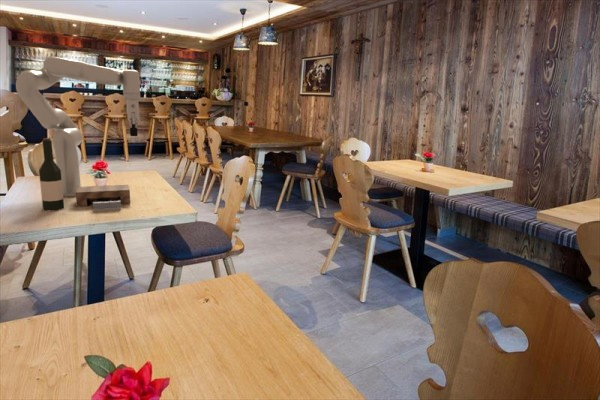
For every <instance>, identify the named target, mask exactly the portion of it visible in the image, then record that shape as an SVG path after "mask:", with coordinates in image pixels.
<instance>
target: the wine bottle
mask: <svg viewBox="0 0 600 400" xmlns="http://www.w3.org/2000/svg"><path fill="white" fill-rule="evenodd" d="M42 149H43V158H44V160H43V162H42V164H41V166H40V168H39V170H38V175H39V183H40V193H41V203H42V209H44V210H43V211H47V210H54V211H60V210H63V209H65V203H64V197H63V190H62V179H61V170H60V169H59V167H58V166H57V163H56V161H54V153H53V151H54V150H53V140H51V138H48V137H45V138H44V137H43V140H42ZM59 209H60V210H59Z"/></svg>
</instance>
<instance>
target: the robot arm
mask: <svg viewBox="0 0 600 400" xmlns="http://www.w3.org/2000/svg"><path fill="white" fill-rule="evenodd" d="M42 64H43V67H41V68H40V69H39V70H32V69H31V70H30V69H28V70H24V71H22V72H21V73H19V74H18V76H17V78H16V81H15V91H16V92H17V94H18V96H19V98H20V100H22V101H23V103H24V104H25V106H26V107H27V108H28V109H29V110H30V112H31V113H32V115H33V116H34V117H35V118H36V119H37V121H38V123H40V125H41V126H42V127H43V128H44V129H46V130H52V131H53V130H54V131H55V132H54V134H53V137H52V147H53V149H54V150H53V151H54V154H55V163H56V165H57V166H58V167H59V169H60V170H61V179H62V190H63V198H70V197H76V189H77V187H82V186H81V174H80V160H79V154H78V150H77V147H78V146H80V144H81V143H82V142H83V134H82V131H81V130H80V129H79V128H78V126H77V125H76V123H74V121H73V120H72V118H71V117H70V116H69V115H68V113H66V112H65V111H64V110H63V109H60V108H54V107H53V105H51V103H49V101H48V99H47V98H46V97H45V96H44V95H43V94H42V93H40V91H41V90H42V91H43V90H47V89H49V88H50V87H52V86H53V85H55V84H56V83H58V82H59V81H61V80H62V79H63V78H64V79H65V78H66V79H68V80H69V79H71V80H75V81H76V80H77V81H80V82H90V83H95V84H102V85H107V86H117V87H118V86H122V93H123V95H122V97H123V100H124V101H125V102H126V104H125V105H126V114H127V115H126V116H127V121H129V126H130V127H129V136H130V137H138V125H137V122H139V123H140V121H141V120H140V105H139V104H140V103H139V101H141V87H140V86H141V85H140V83H141V82H140V72H139V71H138V70H135V69H124V70H122V69H117V68H112V67H107V66H106V67H105V66H101V65H100V66H99V65H95V64H90V63H87V62H84V61H79V60H74V59H68V58H64V57H58V56H48V57H46V58H45V59H44V61H43V63H42Z"/></svg>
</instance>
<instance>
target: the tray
mask: <svg viewBox="0 0 600 400" xmlns="http://www.w3.org/2000/svg"><path fill="white" fill-rule="evenodd" d="M121 210H122V204H121V201H120V199H109V200H94V202H92V211H93V212H103V211H104V212H105V211H121Z"/></svg>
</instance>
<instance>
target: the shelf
mask: <svg viewBox="0 0 600 400" xmlns="http://www.w3.org/2000/svg"><path fill="white" fill-rule="evenodd" d="M109 199H120V201H121V205H130V204H131V193H130V186H129V184H113V185H91V186H90V185H89V186H81V187H77V189H76V196H75V203H76V207H77V208H80V207H88V202H89V203H93V202H94V200H109Z"/></svg>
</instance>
